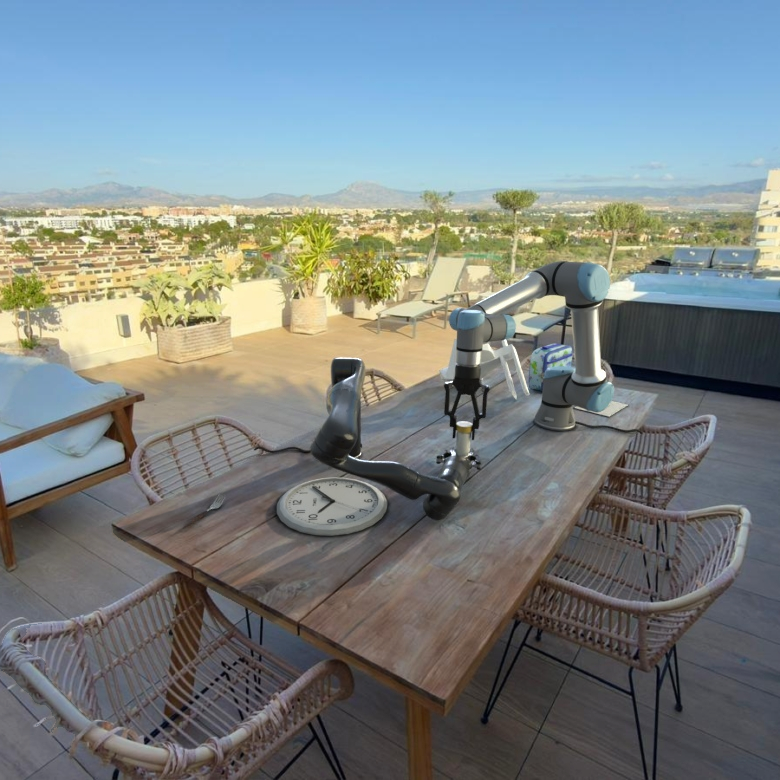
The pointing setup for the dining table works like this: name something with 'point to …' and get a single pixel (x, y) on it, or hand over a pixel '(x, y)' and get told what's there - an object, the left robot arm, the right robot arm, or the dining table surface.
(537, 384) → the lunch box
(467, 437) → the white cylinder
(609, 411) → the invitation card
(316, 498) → the wall clock
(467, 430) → the lid
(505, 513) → the dining table surface
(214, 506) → the fork
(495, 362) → the white plastic object
